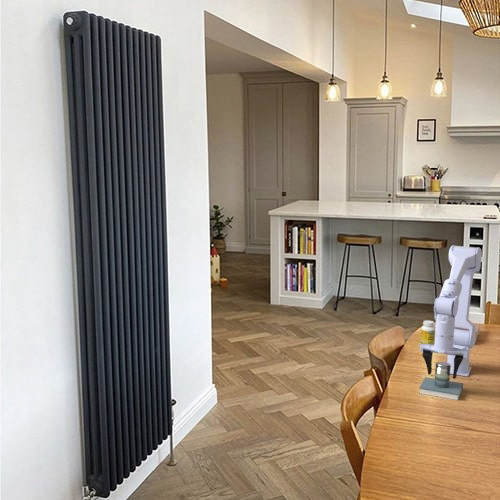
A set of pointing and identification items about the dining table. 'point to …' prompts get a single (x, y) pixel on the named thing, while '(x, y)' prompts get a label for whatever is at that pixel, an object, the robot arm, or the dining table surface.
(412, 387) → the dining table surface
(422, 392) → the hardcover book
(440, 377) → the tea tin
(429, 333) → the supplement bottle
